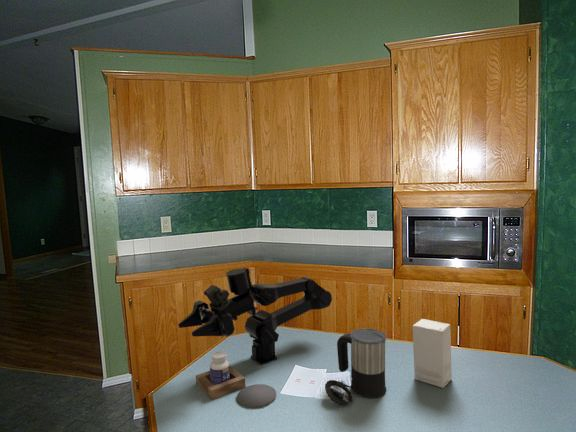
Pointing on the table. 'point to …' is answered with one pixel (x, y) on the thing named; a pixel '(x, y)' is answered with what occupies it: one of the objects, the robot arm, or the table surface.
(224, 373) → the pill bottle
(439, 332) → the skincare box
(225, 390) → the collar block
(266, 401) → the mat
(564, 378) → the table surface
